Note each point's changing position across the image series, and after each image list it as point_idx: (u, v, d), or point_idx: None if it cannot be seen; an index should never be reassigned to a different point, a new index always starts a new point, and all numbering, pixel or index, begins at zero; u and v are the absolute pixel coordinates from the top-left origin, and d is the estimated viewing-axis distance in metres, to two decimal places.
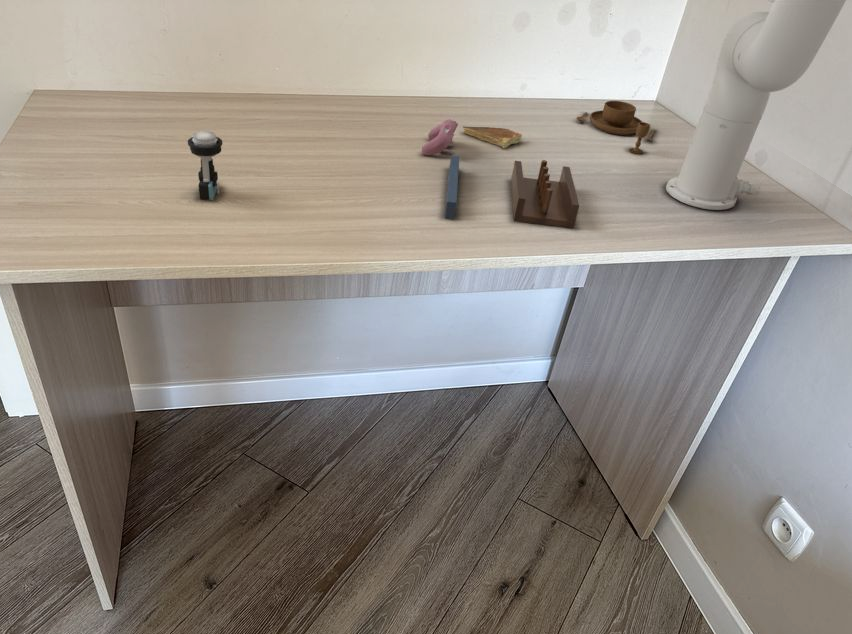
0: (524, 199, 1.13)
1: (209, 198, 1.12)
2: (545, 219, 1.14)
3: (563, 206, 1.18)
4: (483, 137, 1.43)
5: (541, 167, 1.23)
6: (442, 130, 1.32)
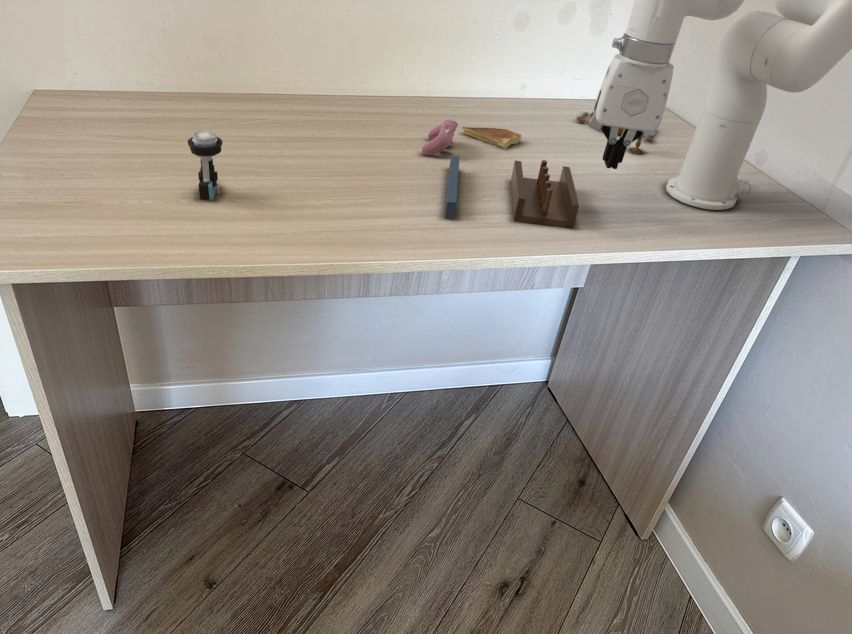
0: (524, 199, 1.13)
1: (209, 198, 1.12)
2: (545, 219, 1.14)
3: (563, 206, 1.18)
4: (483, 138, 1.43)
5: (541, 167, 1.23)
6: (442, 130, 1.32)
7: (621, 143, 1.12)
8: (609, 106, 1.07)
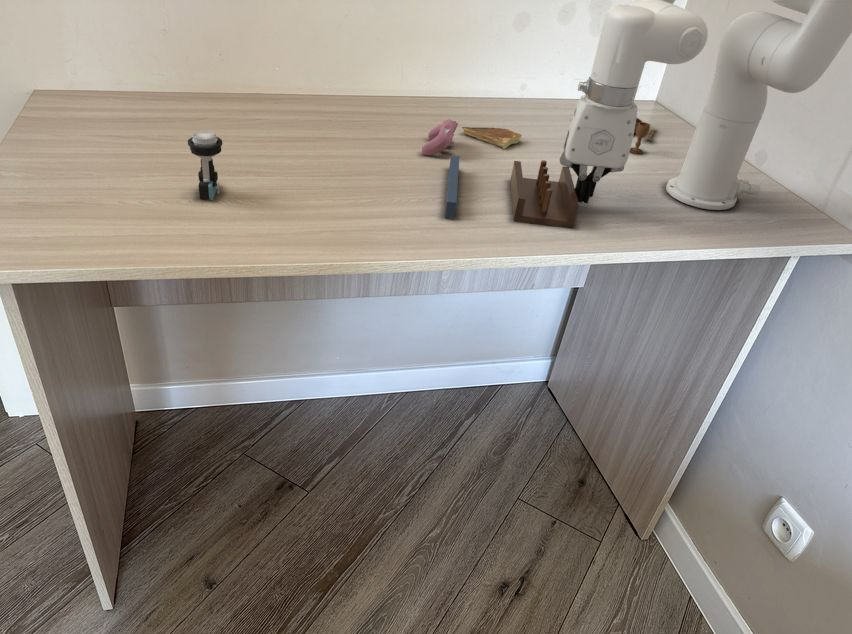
0: (524, 199, 1.13)
1: (209, 198, 1.12)
2: (544, 220, 1.14)
3: (563, 206, 1.19)
4: (483, 138, 1.43)
5: (541, 167, 1.23)
6: (442, 130, 1.32)
7: (591, 179, 1.17)
8: (577, 146, 1.12)
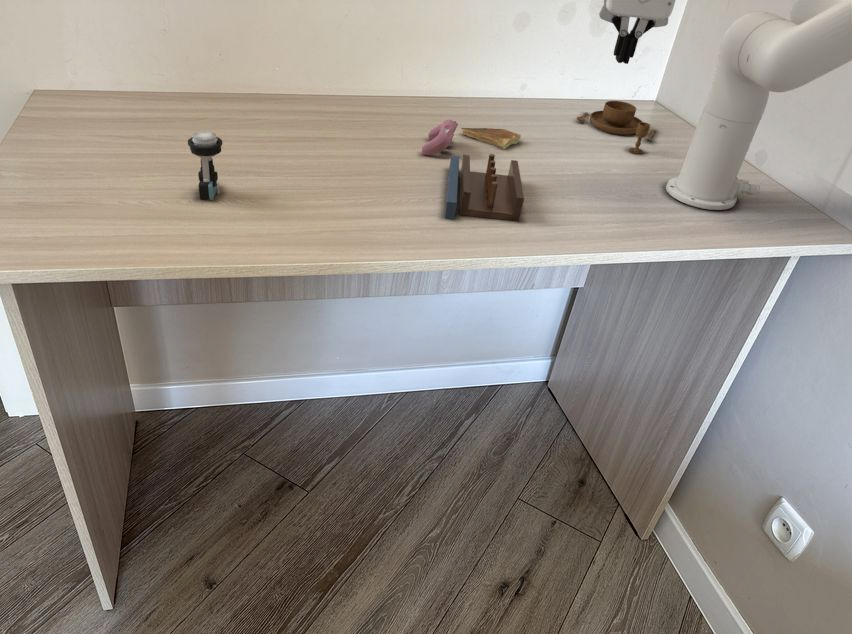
0: (469, 193, 1.13)
1: (209, 198, 1.12)
2: (490, 213, 1.15)
3: (510, 199, 1.19)
4: (483, 138, 1.43)
5: (489, 161, 1.23)
6: (442, 130, 1.32)
7: (632, 35, 1.10)
8: None
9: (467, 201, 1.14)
